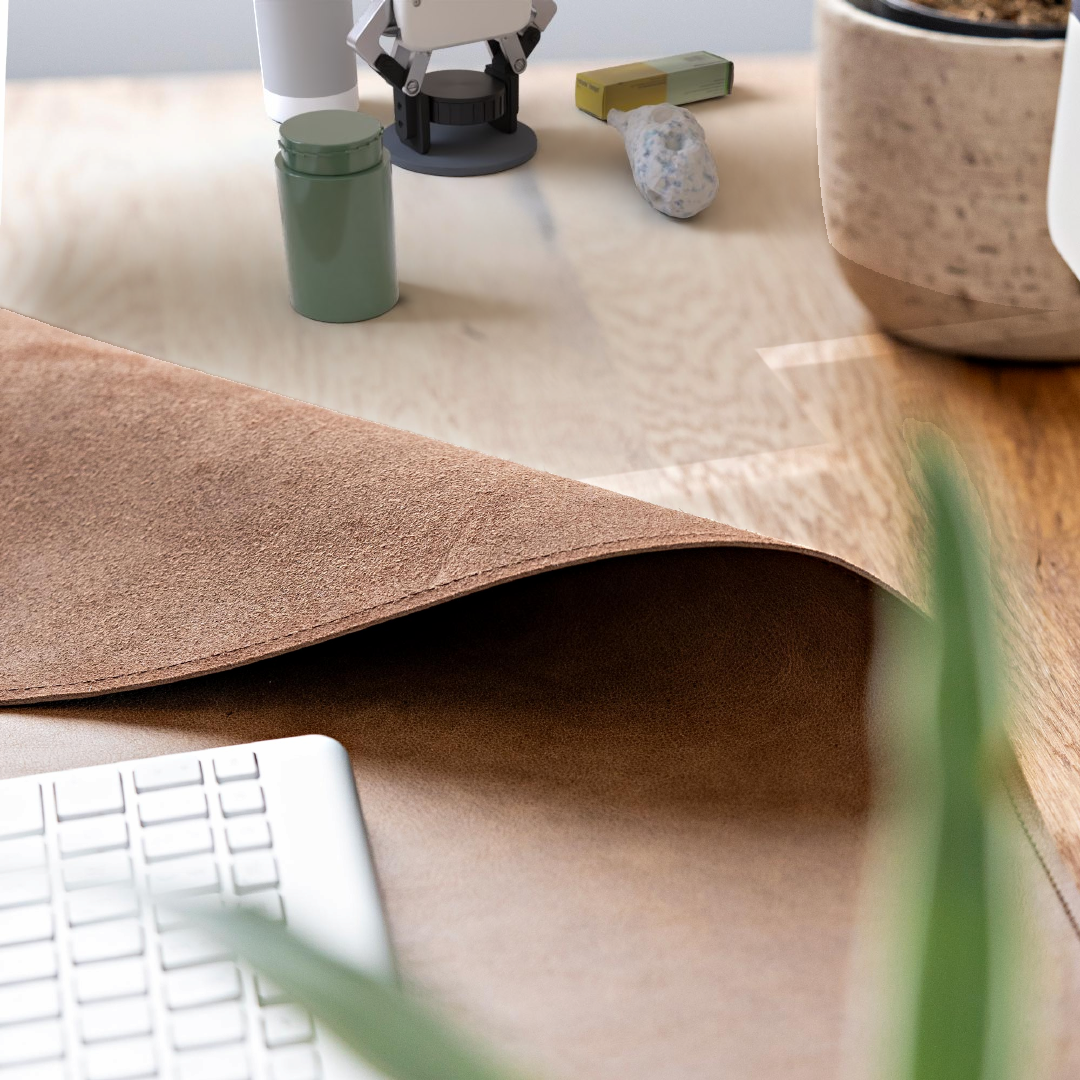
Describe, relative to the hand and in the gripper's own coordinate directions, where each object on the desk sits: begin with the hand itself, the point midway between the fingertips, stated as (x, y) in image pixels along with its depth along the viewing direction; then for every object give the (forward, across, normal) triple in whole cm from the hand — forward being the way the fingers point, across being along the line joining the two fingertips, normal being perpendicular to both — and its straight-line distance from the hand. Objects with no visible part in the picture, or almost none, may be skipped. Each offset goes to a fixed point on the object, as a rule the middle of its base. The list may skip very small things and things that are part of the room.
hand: (458, 135), depth 89 cm
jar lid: (-3, 0, 0) cm, 3 cm away
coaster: (+1, 0, 0) cm, 1 cm away
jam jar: (+1, +18, +16) cm, 24 cm away
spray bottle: (+1, +5, -12) cm, 13 cm away
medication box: (0, -17, +3) cm, 17 cm away
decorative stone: (+1, -8, +14) cm, 16 cm away
